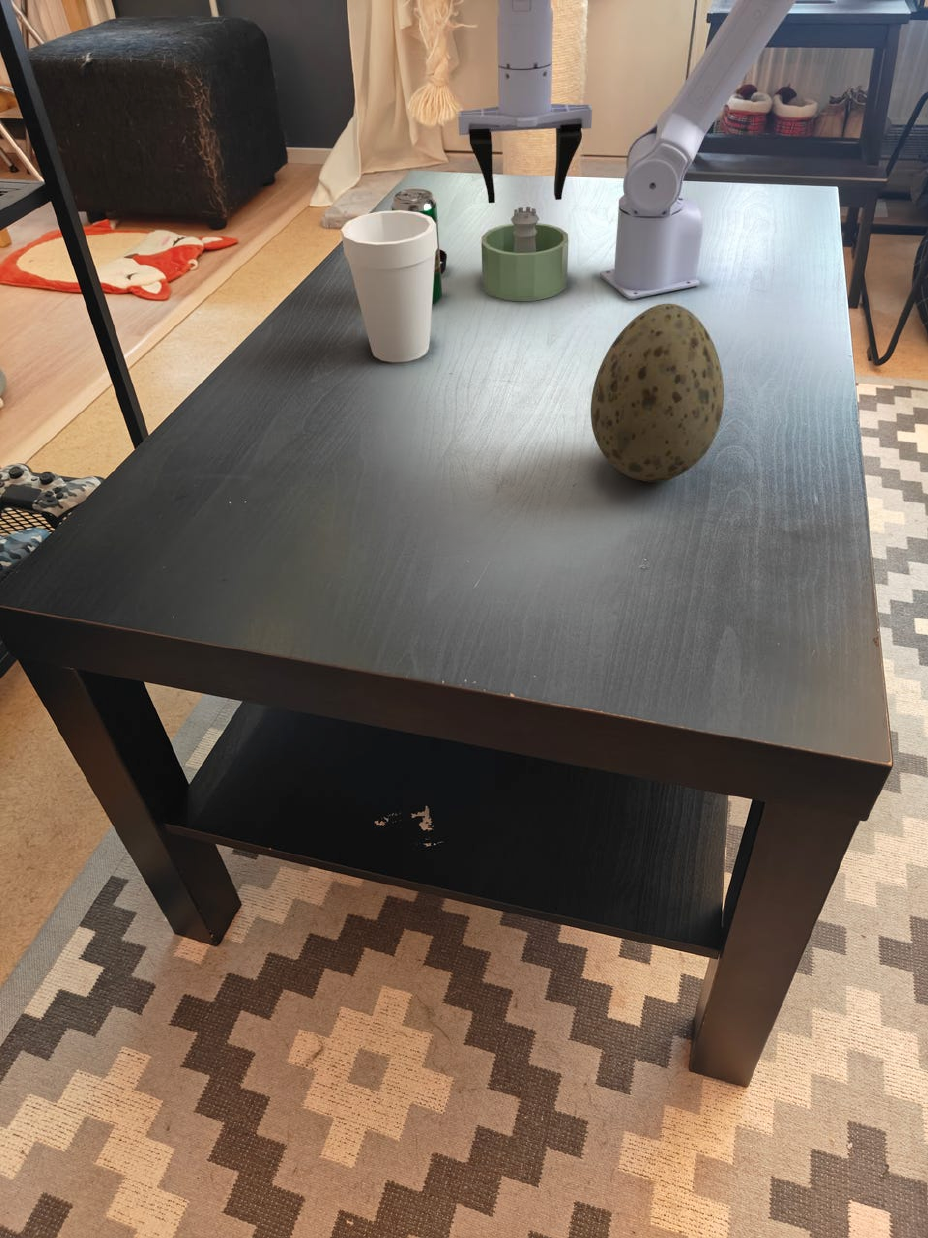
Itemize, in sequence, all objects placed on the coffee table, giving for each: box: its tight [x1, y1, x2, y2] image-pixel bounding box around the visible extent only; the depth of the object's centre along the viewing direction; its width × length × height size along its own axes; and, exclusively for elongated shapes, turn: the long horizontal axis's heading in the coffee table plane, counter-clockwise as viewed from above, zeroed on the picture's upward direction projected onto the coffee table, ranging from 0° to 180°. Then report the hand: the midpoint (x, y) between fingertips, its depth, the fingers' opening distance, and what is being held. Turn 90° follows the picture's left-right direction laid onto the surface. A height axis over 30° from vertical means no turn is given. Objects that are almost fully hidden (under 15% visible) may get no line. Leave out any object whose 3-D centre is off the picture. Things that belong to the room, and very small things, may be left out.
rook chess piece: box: [510, 206, 540, 253], centre depth 106 cm, size 4×4×8 cm
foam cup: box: [340, 210, 438, 363], centre depth 94 cm, size 10×9×13 cm
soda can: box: [390, 188, 443, 306], centre depth 103 cm, size 5×5×12 cm
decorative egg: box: [590, 303, 725, 483], centre depth 74 cm, size 11×11×15 cm
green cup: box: [480, 222, 569, 302], centre depth 107 cm, size 10×10×6 cm
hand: (524, 198), depth 104 cm, fingers open, 7 cm apart
